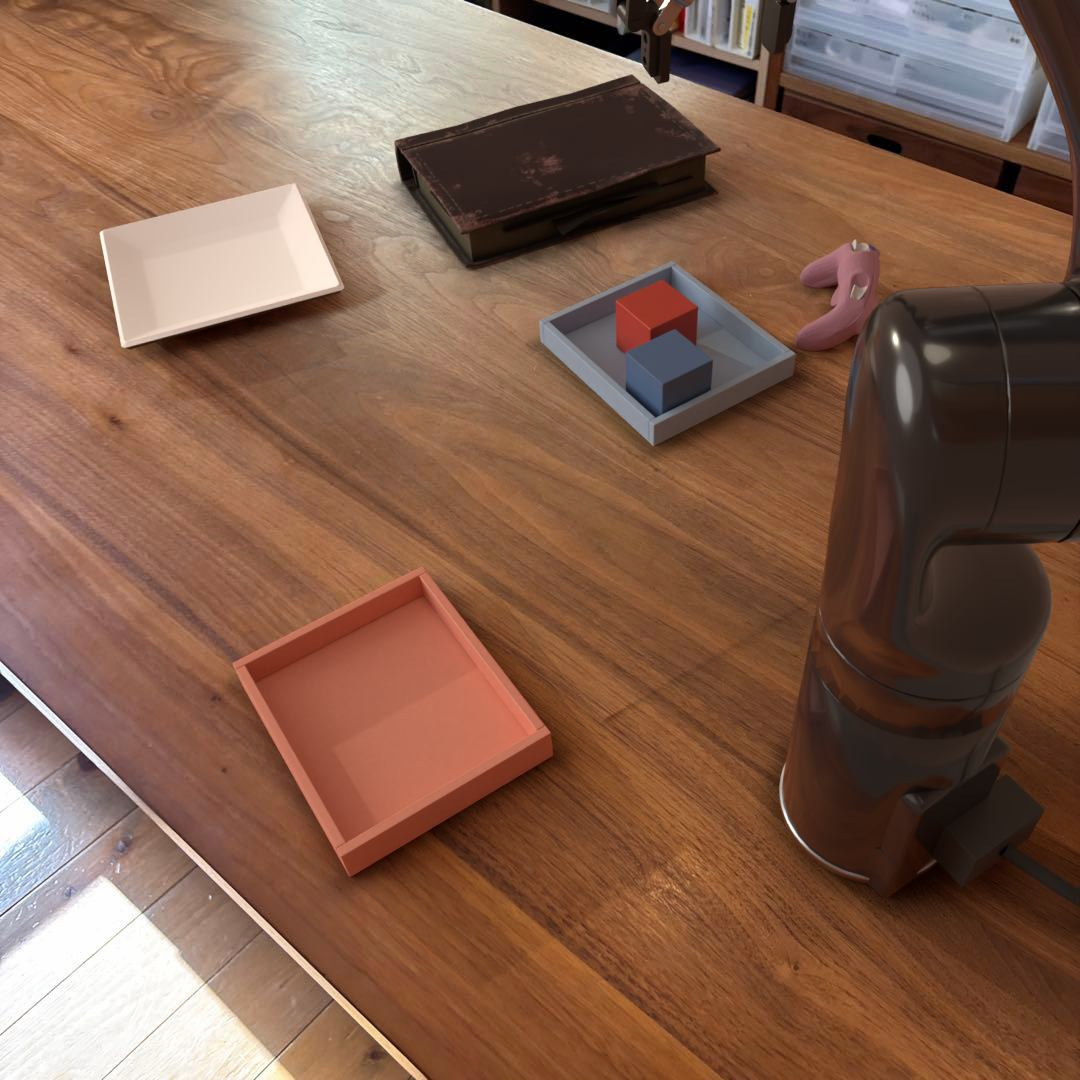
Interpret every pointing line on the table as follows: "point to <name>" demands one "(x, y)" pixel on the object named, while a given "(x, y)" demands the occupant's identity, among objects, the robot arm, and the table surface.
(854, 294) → the video game controller
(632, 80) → the diary
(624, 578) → the table surface
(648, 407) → the blue block
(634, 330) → the red block
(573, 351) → the blue tray
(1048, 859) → the table surface
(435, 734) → the red tray
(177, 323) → the plate
